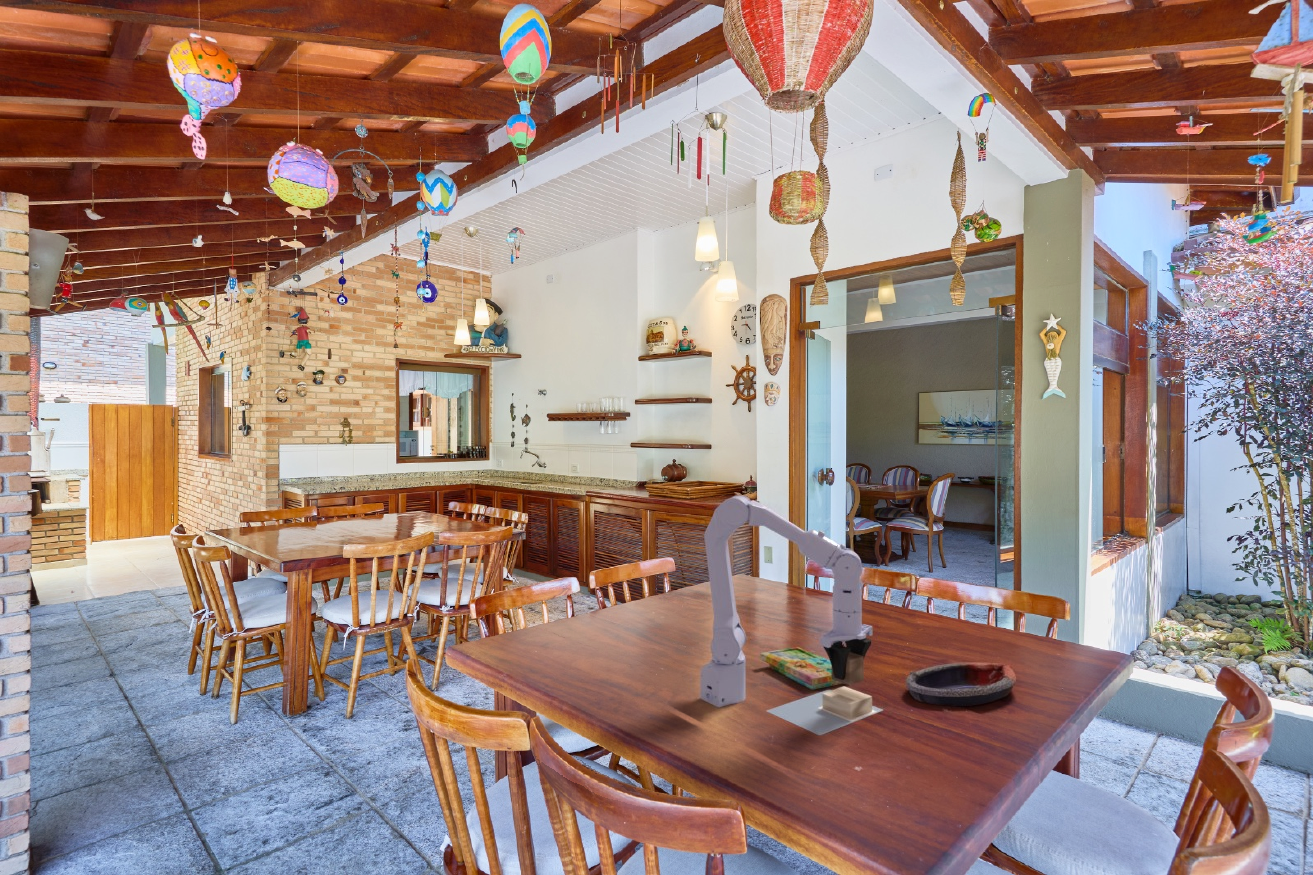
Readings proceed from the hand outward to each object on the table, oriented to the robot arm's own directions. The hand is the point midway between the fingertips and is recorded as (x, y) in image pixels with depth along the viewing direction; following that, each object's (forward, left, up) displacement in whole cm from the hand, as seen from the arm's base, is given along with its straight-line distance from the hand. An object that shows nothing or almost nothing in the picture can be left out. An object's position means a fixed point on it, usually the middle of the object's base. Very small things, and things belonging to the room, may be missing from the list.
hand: (847, 675), depth 135 cm
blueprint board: (-4, +3, -8) cm, 9 cm away
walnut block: (0, 0, -1) cm, 1 cm away
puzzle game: (+10, +20, -8) cm, 23 cm away
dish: (+30, -8, -8) cm, 32 cm away
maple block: (0, 0, -7) cm, 7 cm away
